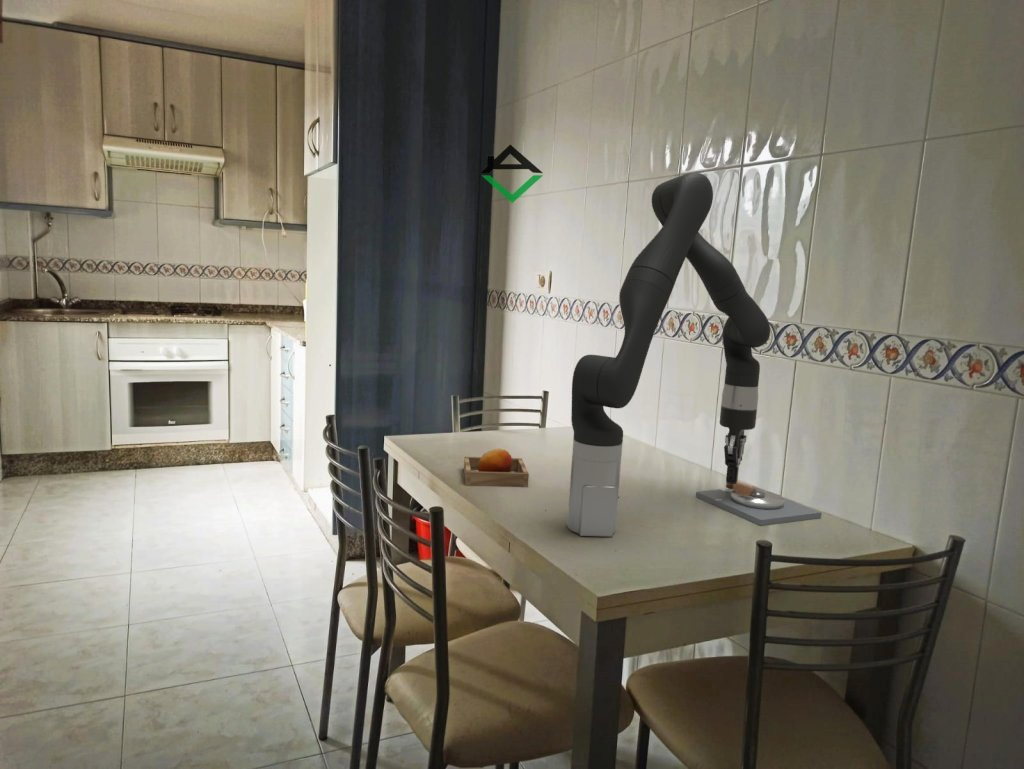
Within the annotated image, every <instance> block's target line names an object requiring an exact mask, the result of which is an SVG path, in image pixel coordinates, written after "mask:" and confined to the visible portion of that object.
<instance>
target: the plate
mask: <svg viewBox="0 0 1024 769" xmlns="http://www.w3.org/2000/svg"><path fill="white" fill-rule="evenodd" d="M751 486H752V487H756V489H757V490H764V489H762V488H759V487H757V486H754V485H751ZM733 490H734V489H729V488H719V489H718V488H717V489H710V490H708V489H707V490H700V491H696V492H695V497H696V498H698V499H700V500H702V501H703V502H706V503H709V504H710V505H713V506H715V507H717V508H720V509H722V510H724V511H727V512H729V513H731V514H733V515H736V516H738V517H740V518H741V519H744V520H747V521H749V522H751V523H753V524H755V525H757V526H761V527H762V526H769V525H778V524H783V523H790V522H791V523H793V522H800V521H807V520H814V519H815V518H816V519H821V518H822V511H819V510H816V509H814V508H812V507H809V506H806V505H803V504H802V503H798V502H795V501H794V500H790V499H788V498H785V497H783V498H784V506H783V507H782V508H779V509H758V508H752V507H747V506H743V505H740V504H738V503H736V502H734V501H732V499H731V492H732V491H733ZM764 491H766V490H764ZM820 517H821V518H820Z"/></svg>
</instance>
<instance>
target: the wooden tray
mask: <svg viewBox="0 0 1024 769" xmlns="http://www.w3.org/2000/svg"><path fill="white" fill-rule="evenodd" d="M481 457H482V456H464V457H463V458H464V459H463V460H464V461H463V473H464V480H465V481H464V482H465V486H478V487H479V486H480V487H481V486H482V487H483V486H485V487H512V488H513V487H516V488H517V487H520V488H524V487H525V488H529V477H530V476H529V474H530V473H529V471H528V469H527V467H526V465H525V462H524V460H523V458H520V457H519V458H518V457H515V458H513V457H512V468H511V471H510V472H480V471H478V463H479V460H480V459H481Z"/></svg>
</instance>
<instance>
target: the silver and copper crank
mask: <svg viewBox="0 0 1024 769" xmlns="http://www.w3.org/2000/svg"><path fill="white" fill-rule="evenodd" d="M738 472H739V470H738ZM738 480H739V479H738ZM738 480H737V482H736V484H731V483H727V482H726V481H725V489H734V490H733V491H732V492H731V499H732V501H734V502H736V503H738V504H740V505H743V506H747V507H752V508H758V509H779V508H782V507H783V506H784V498H785V497H784V496H782V495H779V494H777V493H774V492H771V491H768V490H765V491H764V489H762V490H757V489H756V487H757V486H755V487H752V486H753V485H748V484H745V483H743V482H739V481H738Z"/></svg>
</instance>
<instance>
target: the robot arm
mask: <svg viewBox="0 0 1024 769" xmlns="http://www.w3.org/2000/svg"><path fill="white" fill-rule="evenodd" d="M651 194H652V195H651V206H652V210H653V213H654V214H655V217H656V218H657V220H658V221H659V222H658V223H660V225H661V226H662V227H661V229H660V230H659V231H658V232H657V233H656V235H655V236H654V237H653V238H652V239H651V240H650V241H649V242H648V243H647V245H645V247H644V248H643V249H642V250H641V251H640V253H638V255H637V256H636V257H635V259H634V260H633V261H632V264H631V266H630V268H629V270H628V272H627V273H626V276H625V279H624V280H623V282H622V285H621V288H620V289H619V300H618V301H619V308H620V312H621V313H620V314H621V317H622V320H623V325H624V327H623V328H624V335H623V336H624V337H623V338H622V339H623V340H622V343H621V347H620V348H619V351H618V353H617V355H616V356H615V357H612V356H606V355H599V354H586V355H583V356H582V357H580V358H579V360H578V361H577V363H576V365H575V368H574V371H573V374H572V381H571V416H570V417H571V418H570V419H571V426H572V430H573V438H572V439H573V440H572V441H573V443H572V454H571V469H570V483H569V496H568V498H569V499H568V511H567V512H568V515H567V528H568V530H570V531H572V532H574V533H576V534H578V535H579V536H581V537H613V534H615V532H616V530H617V517H618V506H619V505H618V502H619V492H620V490H619V489H620V476H621V467H622V466H621V465H622V454H623V442H624V440H623V439H624V430H623V428H622V426H620V425H619V424H618V423H617V422H615V421H614V420H613V419H611V418H610V417H609V415H608V414H607V413H606V411H605V409H604V407H606V408H609V409H610V408H613V409H622V408H623V409H624V408H625V407H626V406H628V405H629V403H630V402H631V400H632V399H633V397H634V395H635V393H636V390H637V388H638V385H639V382H640V378H641V375H642V372H643V368H644V366H645V362H646V359H647V356H648V352H649V348H650V346H651V343H652V340H653V337H654V335H655V332H656V330H657V328H658V326H659V322H660V320H661V318H662V315H663V313H664V311H665V309H666V306H667V304H668V302H669V299H670V297H671V295H672V292H673V289H674V287H675V285H676V281H677V279H678V276H679V274H680V271H681V269H682V266H683V265H684V262H685V260H686V259H687V260H688V262H689V263H690V265H691V266H692V267H693V269H694V270H695V272H696V274H697V275H698V276H699V278H700V280H701V282H702V284H703V286H704V288H705V290H706V292H707V294H708V295H709V297H710V299H711V301H712V303H713V305H714V307H715V308H716V309H717V310H718V311H719V312H721V313H722V314H725V315H726V316H727V319H726V321H725V322H724V326H723V330H722V344H723V350H724V351H723V352H724V358H725V362H726V363H725V374H724V376H725V377H724V384H723V388H722V393H721V403H720V414H719V425H720V426H721V427H724V428H727V429H729V431H728V433H727V434H726V435H725V437H724V446H723V451H724V464H725V465H726V477H725V483H726V482H727V483H731V484H736V482H738V481H737V480H739V471H738V470H739V468H740V465H741V464H742V461H743V456H744V453H745V445H746V443H747V435H745V431H748V430H749V431H750V430H754V429H755V428H756V423H757V414H758V413H757V412H758V403H759V381H760V372H761V365H760V361H758V359H756V358H755V357H754V356H753V353H752V352H753V351H752V349H753V348H760V347H762V346H764V345H765V344H766V343H767V342H768V341H769V339H770V336H771V326H770V321H769V319H768V317H767V316H766V314H765V313H764V311H763V310H762V309H761V307H760V306H759V305H758V304H757V303H756V301H755V300H754V299H753V298H752V296H751V295H750V294H749V293H748V292H747V290H746V287H745V285H744V284H743V282H742V280H741V278H740V276H739V273H738V272H737V270H736V268H735V267H734V264H733V263H732V262H731V261H730V260H729V259H728V258H727V257H726V256H725V255H724V254H723V253H721V251H719V250H718V249H716V247H714V246H713V245H712V244H711V243H709V242H708V240H706V239H705V237H703V235H702V234H701V233H700V232H699V231H700V230H701V227H702V226H703V224H704V223H705V221H706V219H707V218H708V217H707V216H708V215H709V213H710V211H711V208H712V204H713V200H714V192H713V185H712V182H711V181H710V179H709V177H708V176H706V175H705V174H703V173H701V172H689V173H686V174H682V175H678V176H677V177H674V178H671V179H669V180H666V181H664V182H661V183H660V184H658V185H657V186H656V187H655V188H654V190H653V192H652V193H651Z"/></svg>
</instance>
